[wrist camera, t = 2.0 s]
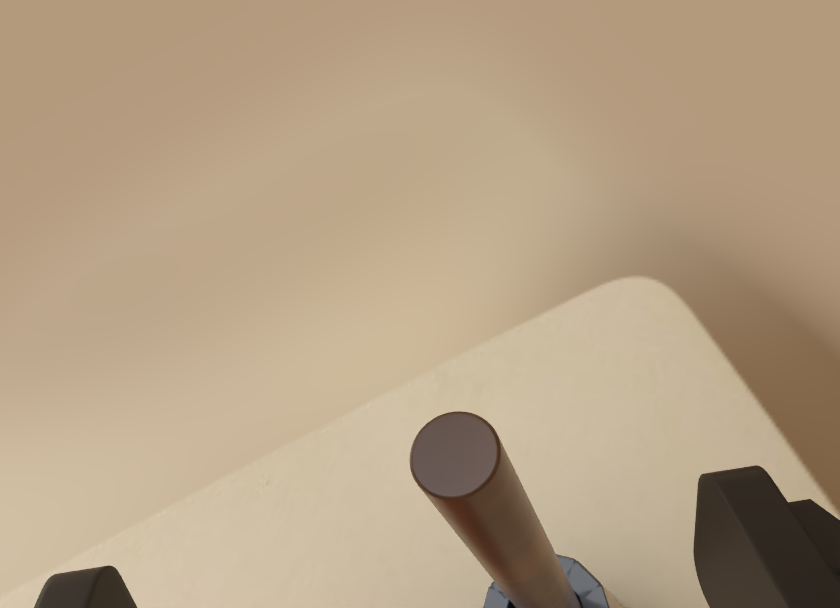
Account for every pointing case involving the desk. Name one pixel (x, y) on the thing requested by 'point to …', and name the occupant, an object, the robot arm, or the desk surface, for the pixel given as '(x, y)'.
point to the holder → (588, 590)
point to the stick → (489, 508)
